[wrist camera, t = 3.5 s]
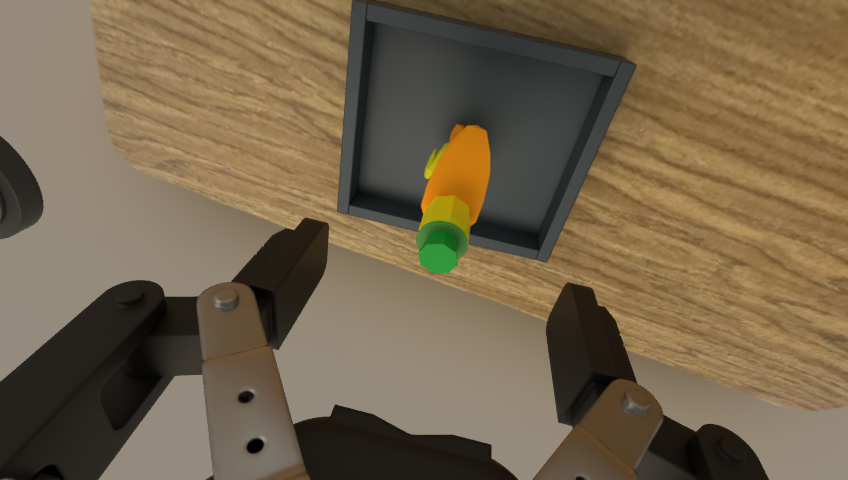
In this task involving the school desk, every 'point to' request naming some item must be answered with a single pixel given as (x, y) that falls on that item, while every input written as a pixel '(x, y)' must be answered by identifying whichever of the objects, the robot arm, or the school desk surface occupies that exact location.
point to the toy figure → (453, 197)
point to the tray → (472, 120)
